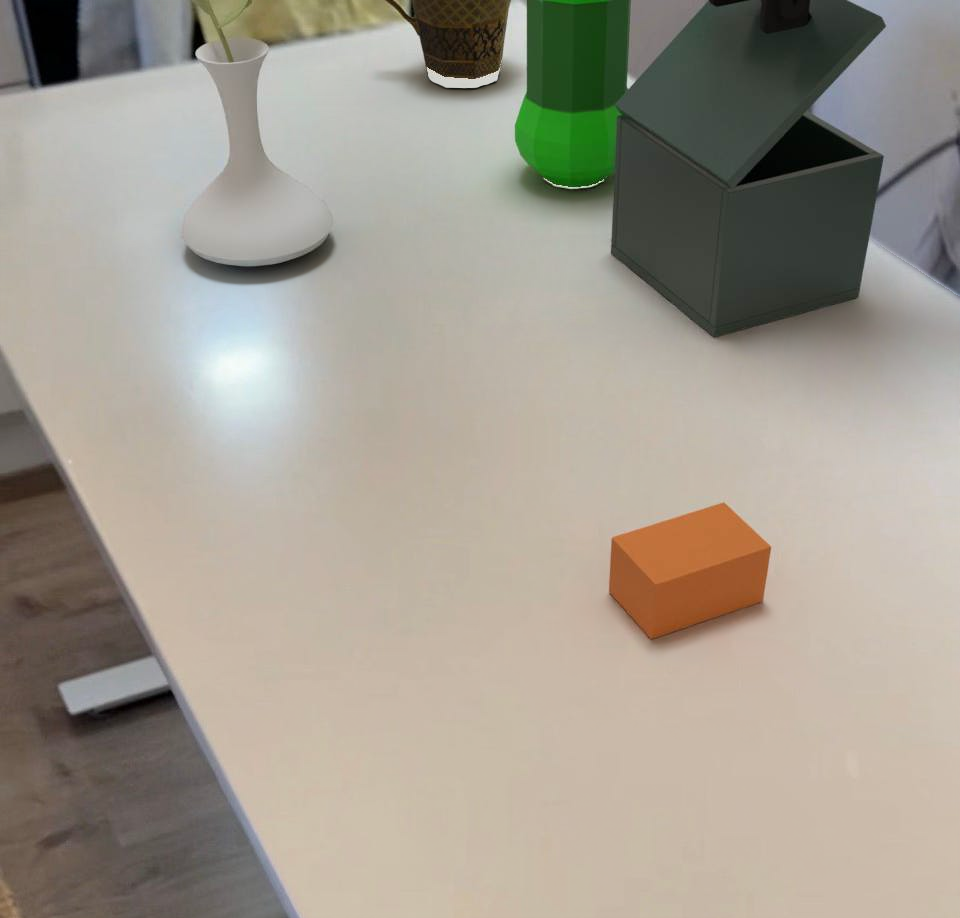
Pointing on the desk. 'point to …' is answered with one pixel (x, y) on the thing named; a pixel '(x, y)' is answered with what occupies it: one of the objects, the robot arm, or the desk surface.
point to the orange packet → (688, 569)
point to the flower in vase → (249, 173)
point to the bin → (747, 225)
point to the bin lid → (743, 81)
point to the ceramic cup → (460, 35)
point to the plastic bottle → (573, 88)
